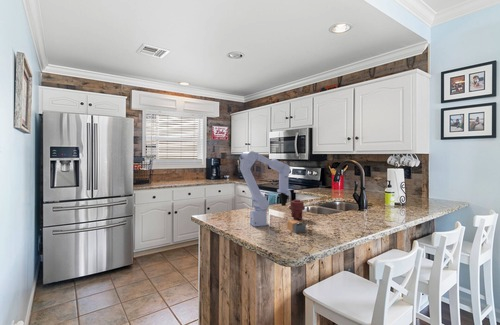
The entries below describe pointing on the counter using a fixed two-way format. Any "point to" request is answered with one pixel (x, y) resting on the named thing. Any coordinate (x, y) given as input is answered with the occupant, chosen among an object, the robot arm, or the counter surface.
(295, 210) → the mechanical component
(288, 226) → the notched orange block
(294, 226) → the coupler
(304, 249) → the counter surface
